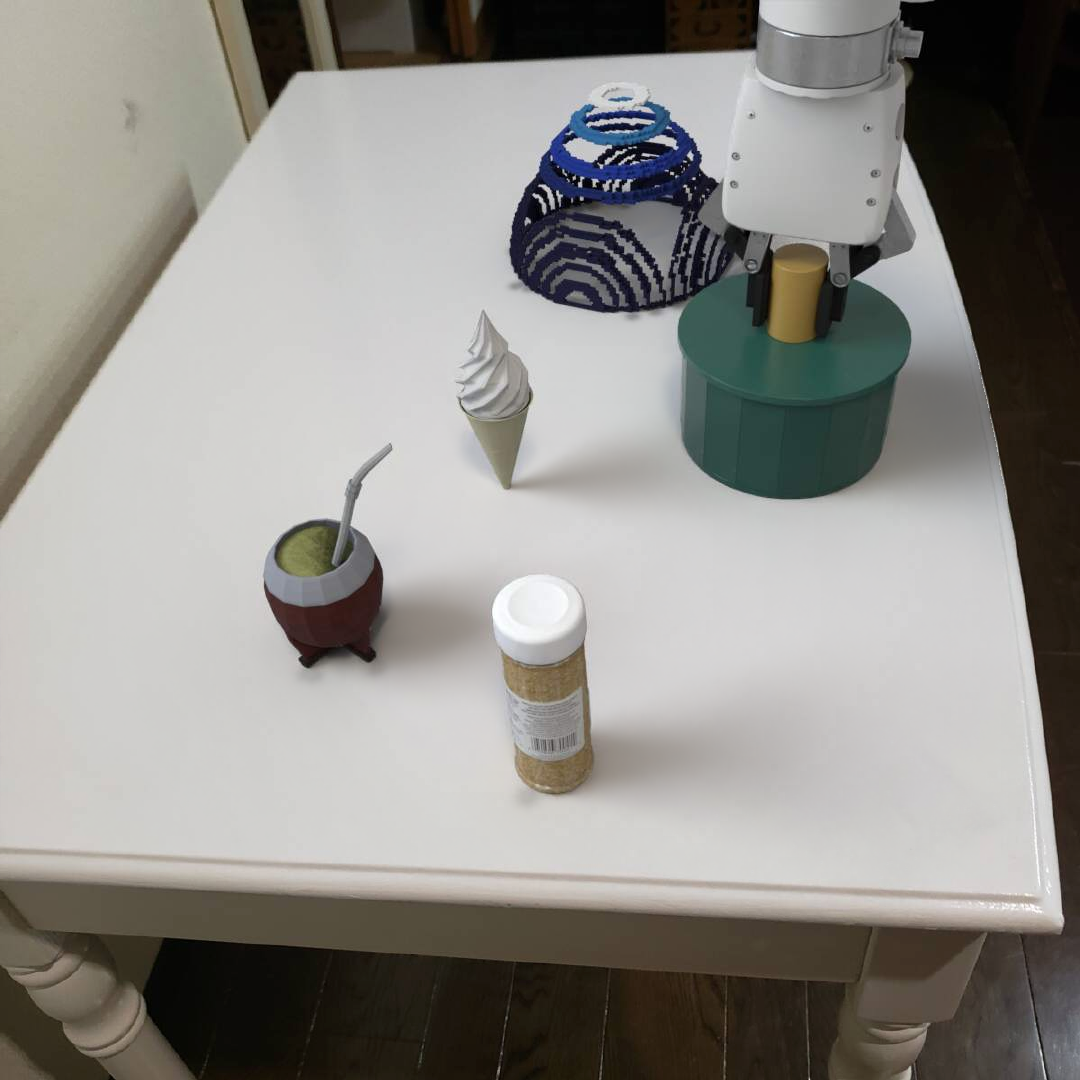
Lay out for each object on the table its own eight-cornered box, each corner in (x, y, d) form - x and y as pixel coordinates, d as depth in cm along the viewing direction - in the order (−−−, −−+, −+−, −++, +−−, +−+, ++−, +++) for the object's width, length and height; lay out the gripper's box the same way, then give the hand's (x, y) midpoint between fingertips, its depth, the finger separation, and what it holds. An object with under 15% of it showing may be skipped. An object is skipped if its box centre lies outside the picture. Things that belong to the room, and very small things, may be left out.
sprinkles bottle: (599, 734, 64) (592, 574, 55) (587, 802, 61) (577, 645, 52) (522, 725, 65) (501, 565, 56) (506, 792, 62) (481, 635, 53)
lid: (926, 300, 79) (943, 215, 75) (885, 434, 69) (903, 345, 65) (713, 267, 84) (717, 185, 80) (646, 388, 74) (647, 301, 70)
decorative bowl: (566, 183, 112) (558, 35, 102) (760, 214, 105) (772, 60, 95) (474, 286, 99) (455, 129, 89) (687, 329, 92) (692, 165, 82)
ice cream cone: (461, 476, 81) (433, 299, 71) (526, 456, 82) (508, 279, 72) (484, 519, 78) (459, 340, 67) (552, 497, 79) (537, 318, 68)
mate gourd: (263, 642, 71) (196, 465, 61) (355, 572, 75) (308, 393, 64) (339, 702, 67) (282, 523, 57) (432, 624, 71) (395, 444, 61)
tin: (899, 392, 85) (919, 296, 79) (861, 518, 76) (880, 420, 70) (713, 358, 89) (718, 265, 83) (655, 473, 80) (656, 377, 74)
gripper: (987, 32, 63) (928, 311, 75) (700, 9, 68) (691, 274, 81) (969, 87, 58) (909, 375, 71) (662, 58, 63) (659, 331, 76)
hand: (793, 318), depth 76 cm, fingers closed on lid, 3 cm apart
